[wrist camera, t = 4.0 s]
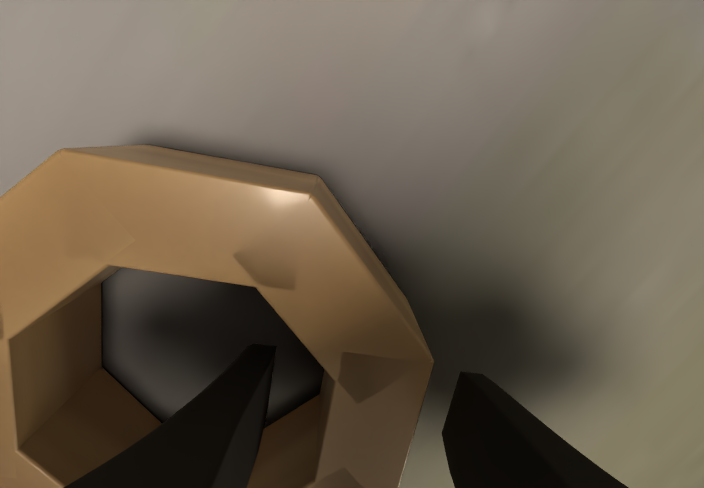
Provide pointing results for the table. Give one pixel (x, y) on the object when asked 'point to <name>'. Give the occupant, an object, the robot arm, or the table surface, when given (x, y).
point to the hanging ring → (210, 264)
